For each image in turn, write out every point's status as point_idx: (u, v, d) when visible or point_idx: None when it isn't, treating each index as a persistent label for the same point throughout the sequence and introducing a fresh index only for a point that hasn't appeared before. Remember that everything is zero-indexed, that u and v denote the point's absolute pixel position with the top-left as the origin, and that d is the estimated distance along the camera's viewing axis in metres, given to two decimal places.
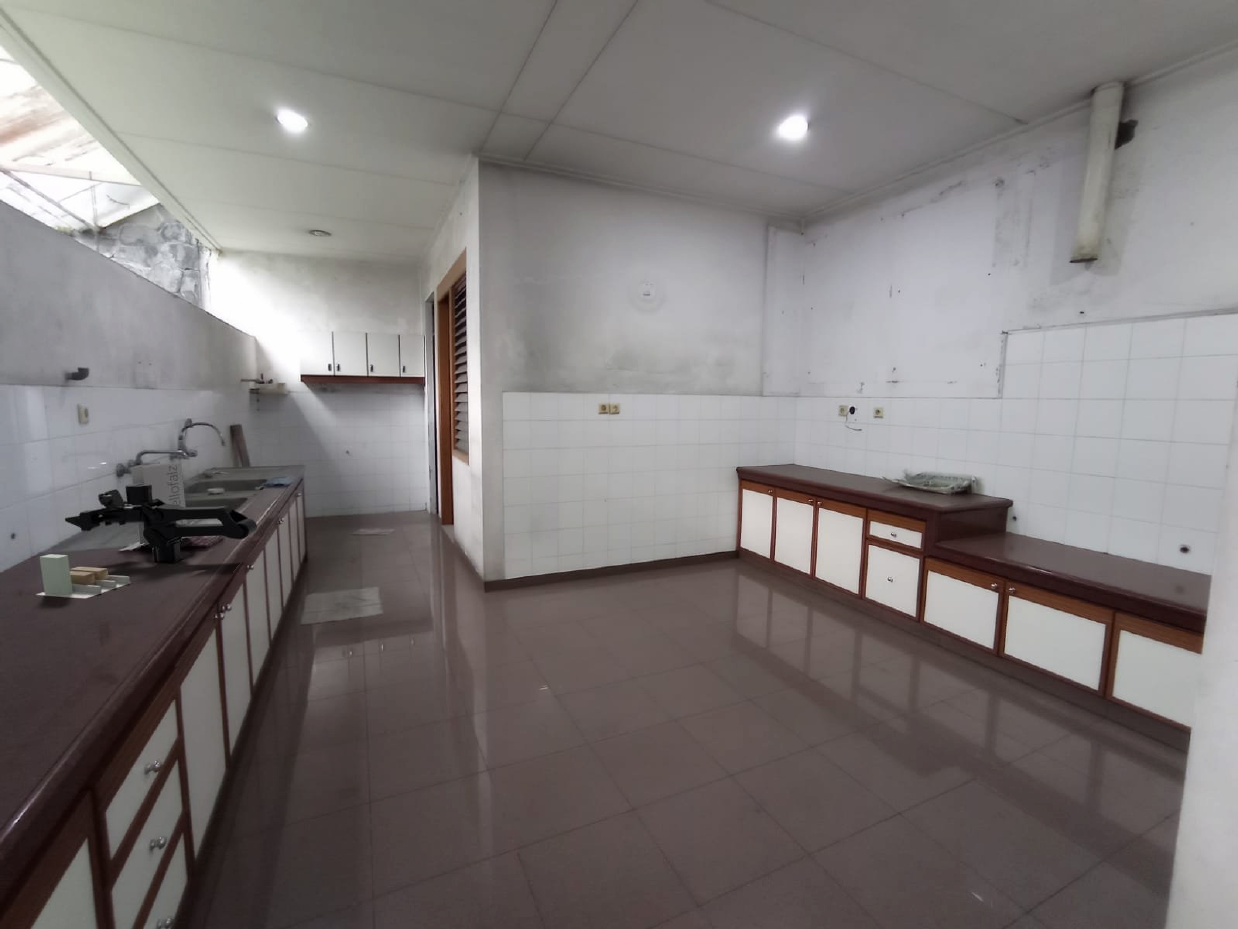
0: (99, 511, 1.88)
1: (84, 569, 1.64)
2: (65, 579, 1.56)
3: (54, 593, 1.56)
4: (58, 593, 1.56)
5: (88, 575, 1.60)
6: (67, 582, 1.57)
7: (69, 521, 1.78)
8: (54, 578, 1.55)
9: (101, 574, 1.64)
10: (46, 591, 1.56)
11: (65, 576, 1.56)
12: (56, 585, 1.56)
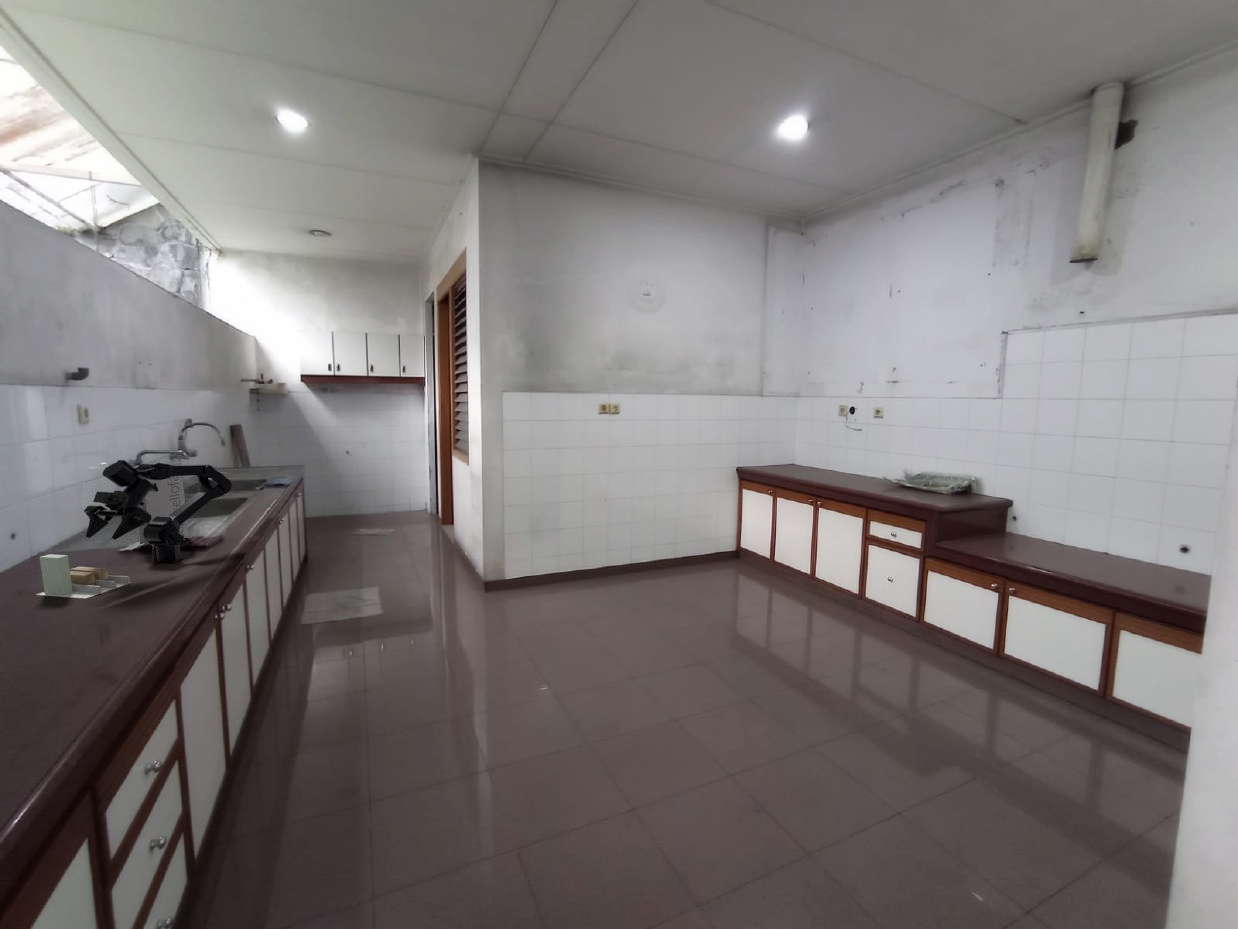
0: (93, 527, 1.71)
1: (84, 569, 1.64)
2: (65, 579, 1.56)
3: (54, 593, 1.56)
4: (58, 593, 1.56)
5: (88, 575, 1.60)
6: (67, 582, 1.57)
7: (120, 535, 1.69)
8: (54, 578, 1.55)
9: (101, 574, 1.64)
10: (46, 591, 1.56)
11: (65, 576, 1.56)
12: (56, 585, 1.56)
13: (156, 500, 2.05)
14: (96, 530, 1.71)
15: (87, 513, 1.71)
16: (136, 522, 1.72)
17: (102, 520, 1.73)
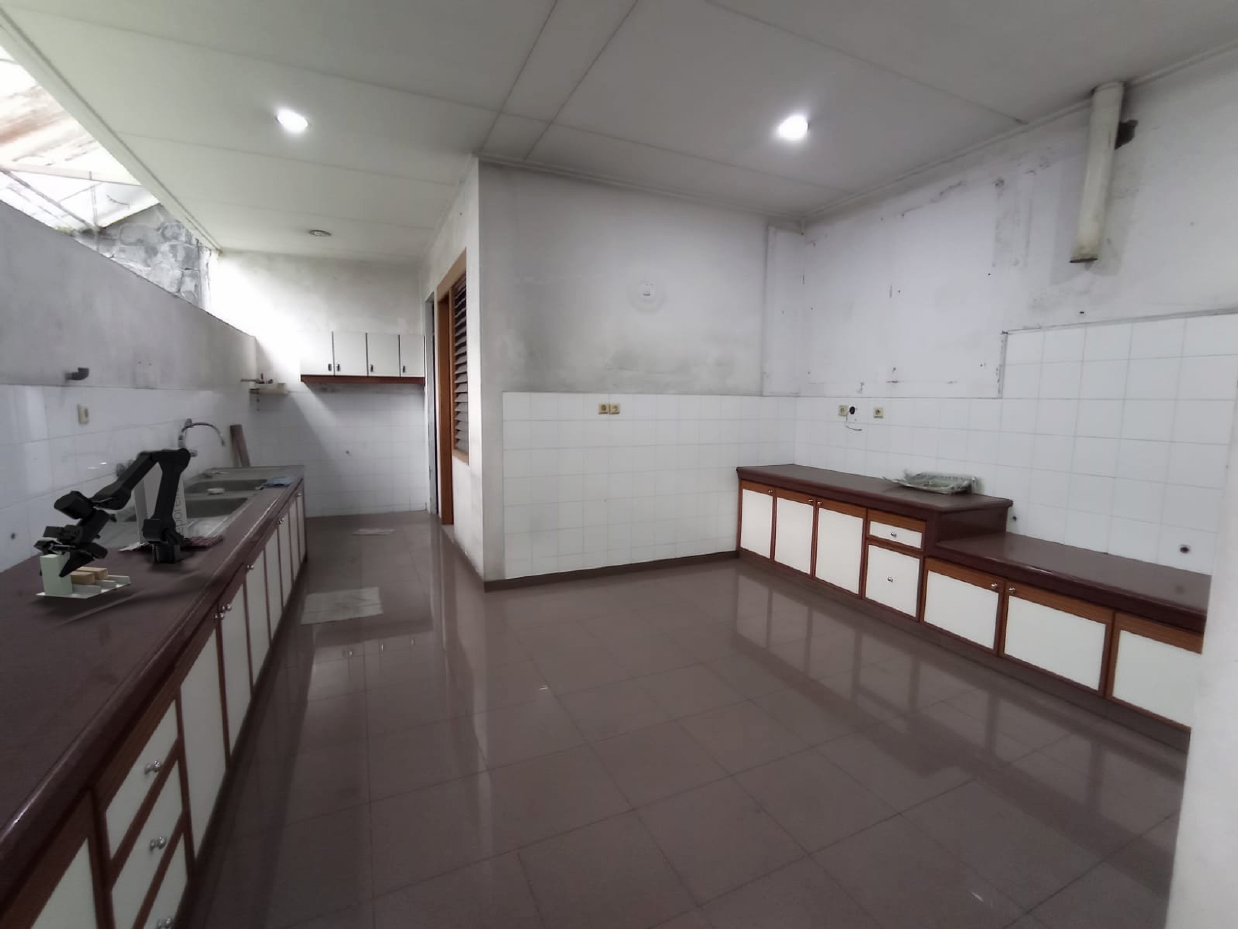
0: None
1: (84, 569, 1.64)
2: (65, 579, 1.56)
3: (54, 593, 1.56)
4: (58, 593, 1.56)
5: (88, 575, 1.60)
6: (67, 582, 1.57)
7: (68, 572, 1.56)
8: (54, 578, 1.55)
9: (101, 574, 1.64)
10: (46, 591, 1.56)
11: (65, 576, 1.56)
12: (56, 585, 1.56)
13: None
14: None
15: (41, 549, 1.58)
16: (86, 558, 1.59)
17: None
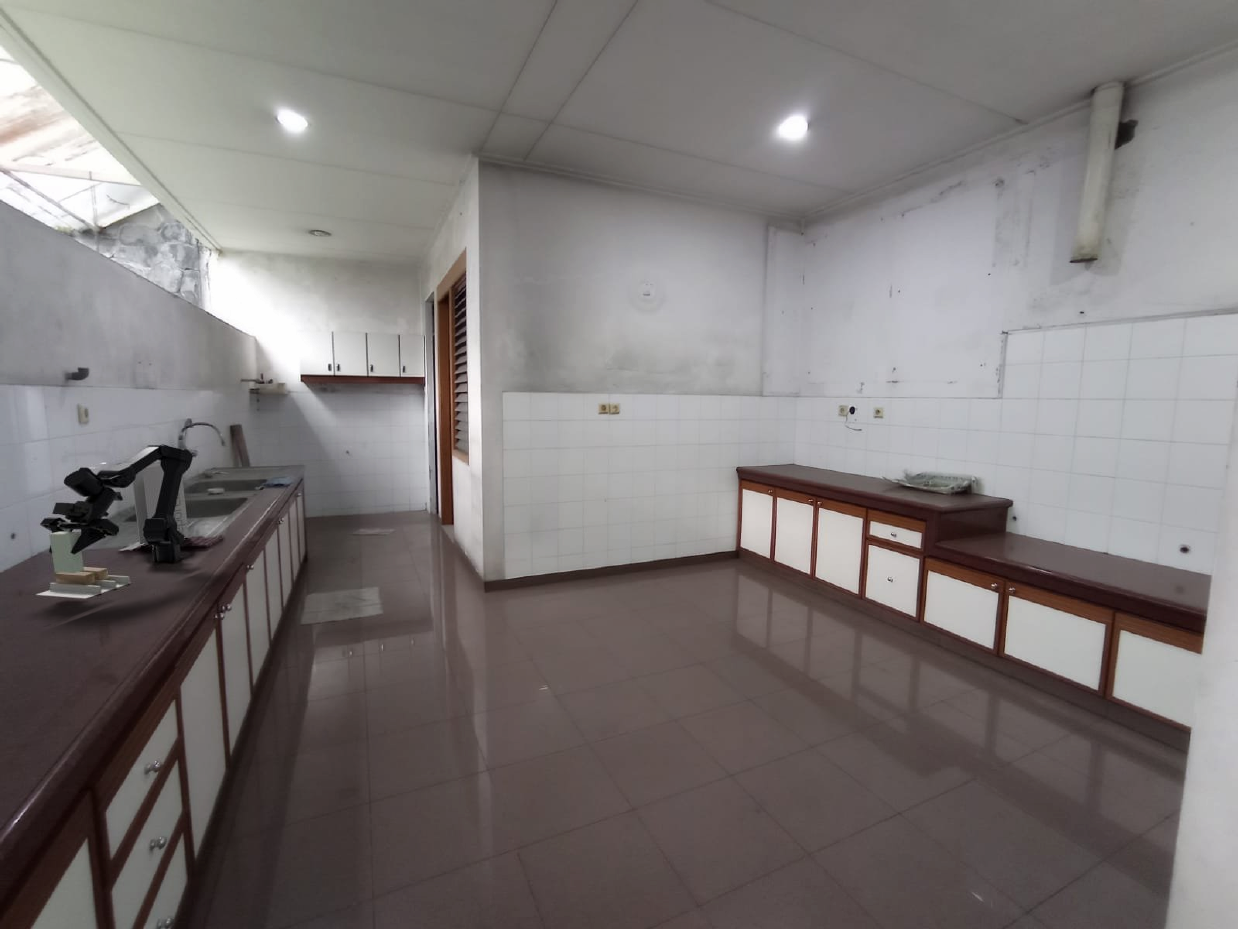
0: None
1: (84, 569, 1.64)
2: (77, 556, 1.55)
3: (65, 570, 1.55)
4: (69, 570, 1.54)
5: (88, 575, 1.60)
6: (78, 559, 1.55)
7: (79, 549, 1.55)
8: (65, 554, 1.54)
9: (101, 574, 1.64)
10: (56, 568, 1.55)
11: (76, 553, 1.55)
12: (67, 562, 1.54)
13: (156, 500, 2.05)
14: None
15: (49, 526, 1.56)
16: (97, 535, 1.58)
17: None
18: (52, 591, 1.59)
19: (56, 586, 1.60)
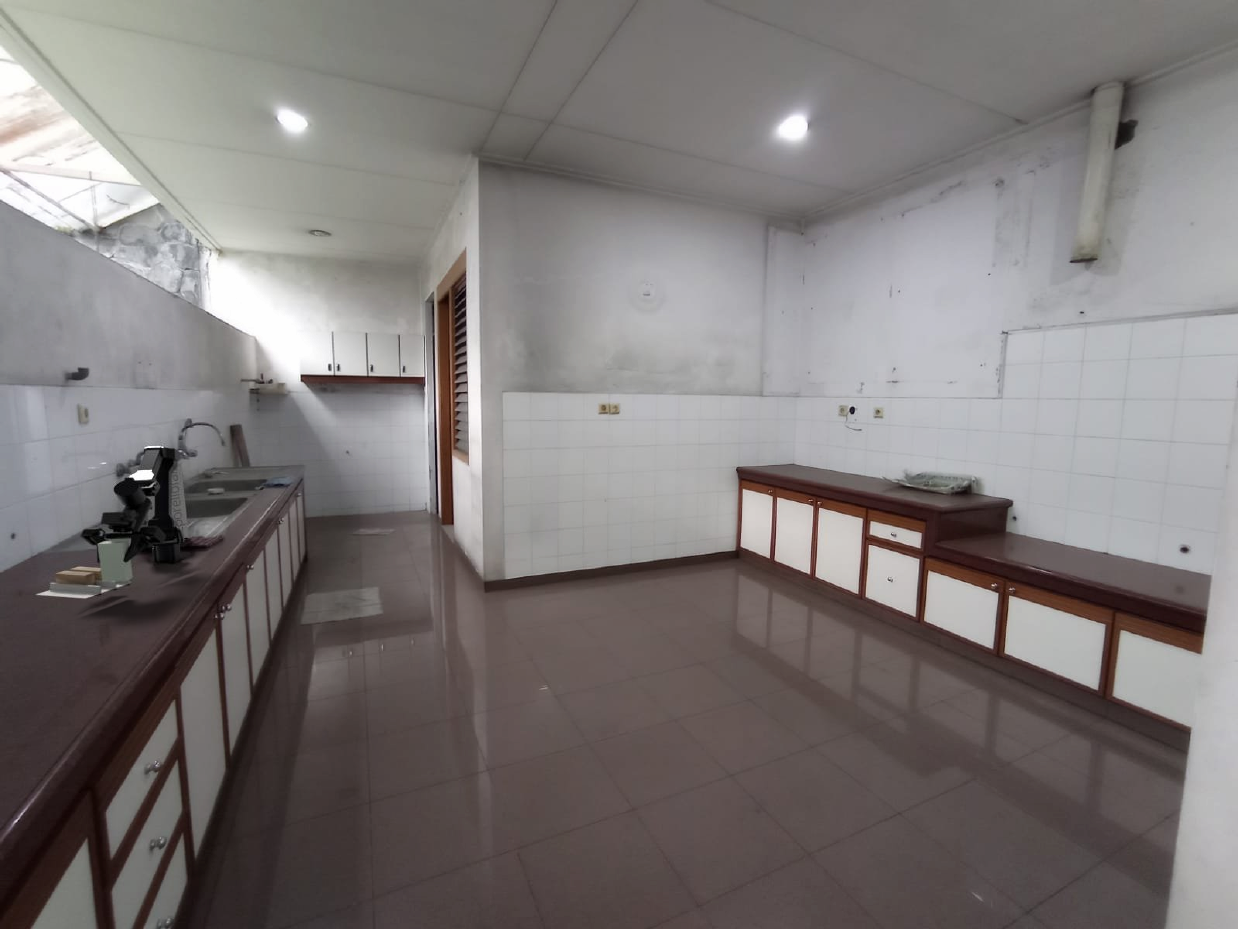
0: None
1: (84, 569, 1.64)
2: (127, 564, 1.58)
3: (115, 579, 1.57)
4: (120, 578, 1.57)
5: (88, 575, 1.60)
6: (129, 567, 1.58)
7: (130, 557, 1.58)
8: (116, 563, 1.56)
9: (101, 574, 1.64)
10: (104, 578, 1.56)
11: None
12: (118, 571, 1.56)
13: None
14: None
15: (93, 537, 1.56)
16: (145, 543, 1.61)
17: None
18: (52, 591, 1.59)
19: (56, 586, 1.60)
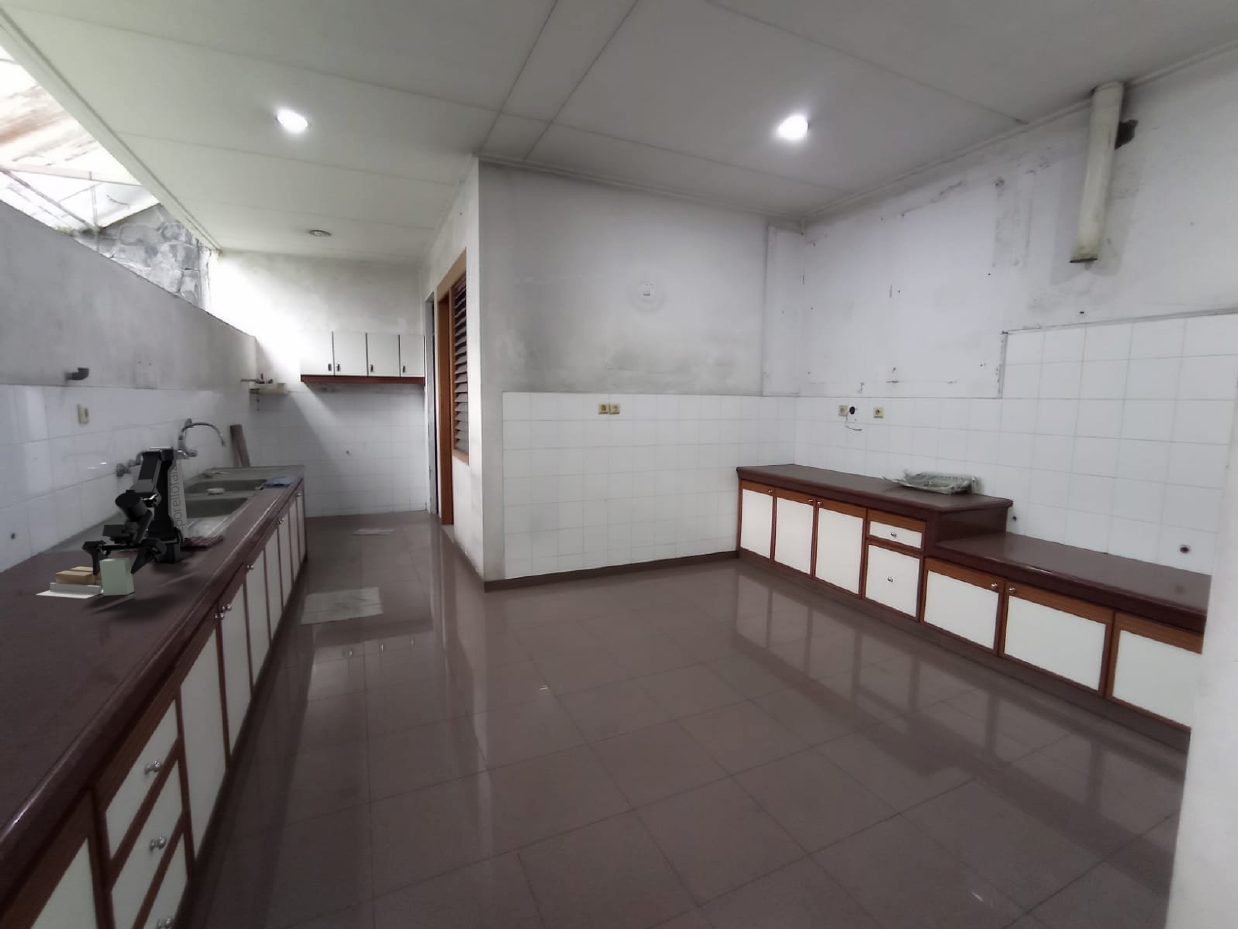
0: (98, 563, 1.57)
1: (84, 569, 1.64)
2: (129, 581, 1.58)
3: None
4: None
5: (88, 575, 1.60)
6: (130, 584, 1.59)
7: (137, 568, 1.58)
8: (118, 580, 1.57)
9: None
10: None
11: (129, 578, 1.58)
12: (120, 588, 1.57)
13: None
14: None
15: (88, 549, 1.57)
16: (151, 554, 1.62)
17: (104, 555, 1.60)
18: (52, 591, 1.59)
19: (56, 586, 1.60)
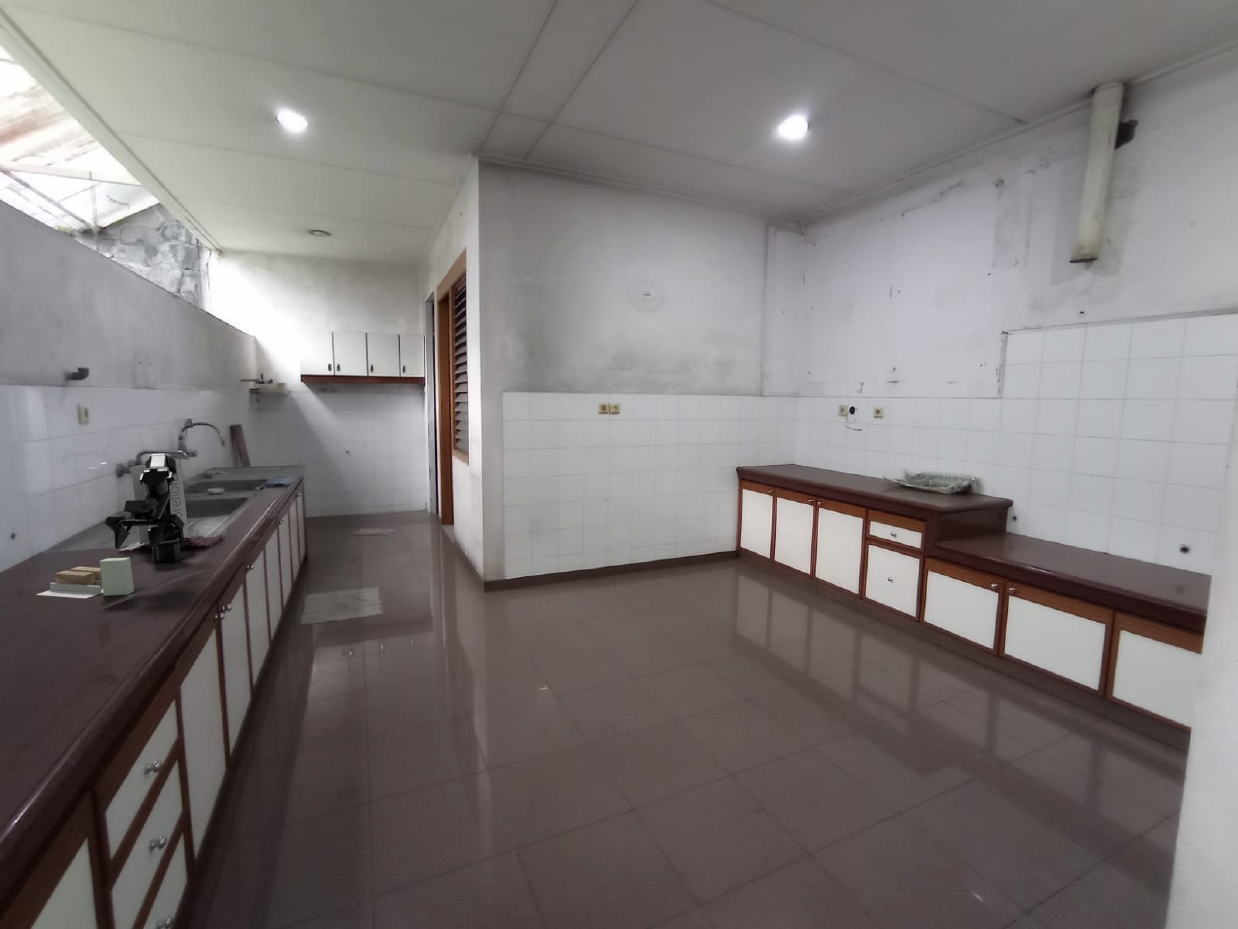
0: (119, 538, 1.65)
1: (84, 569, 1.64)
2: (129, 581, 1.58)
3: None
4: None
5: (88, 575, 1.60)
6: (130, 584, 1.59)
7: (157, 542, 1.67)
8: (118, 580, 1.57)
9: None
10: None
11: (129, 578, 1.58)
12: (120, 588, 1.57)
13: None
14: (122, 541, 1.66)
15: (110, 524, 1.65)
16: (170, 529, 1.70)
17: (125, 530, 1.68)
18: (52, 591, 1.59)
19: (56, 586, 1.60)
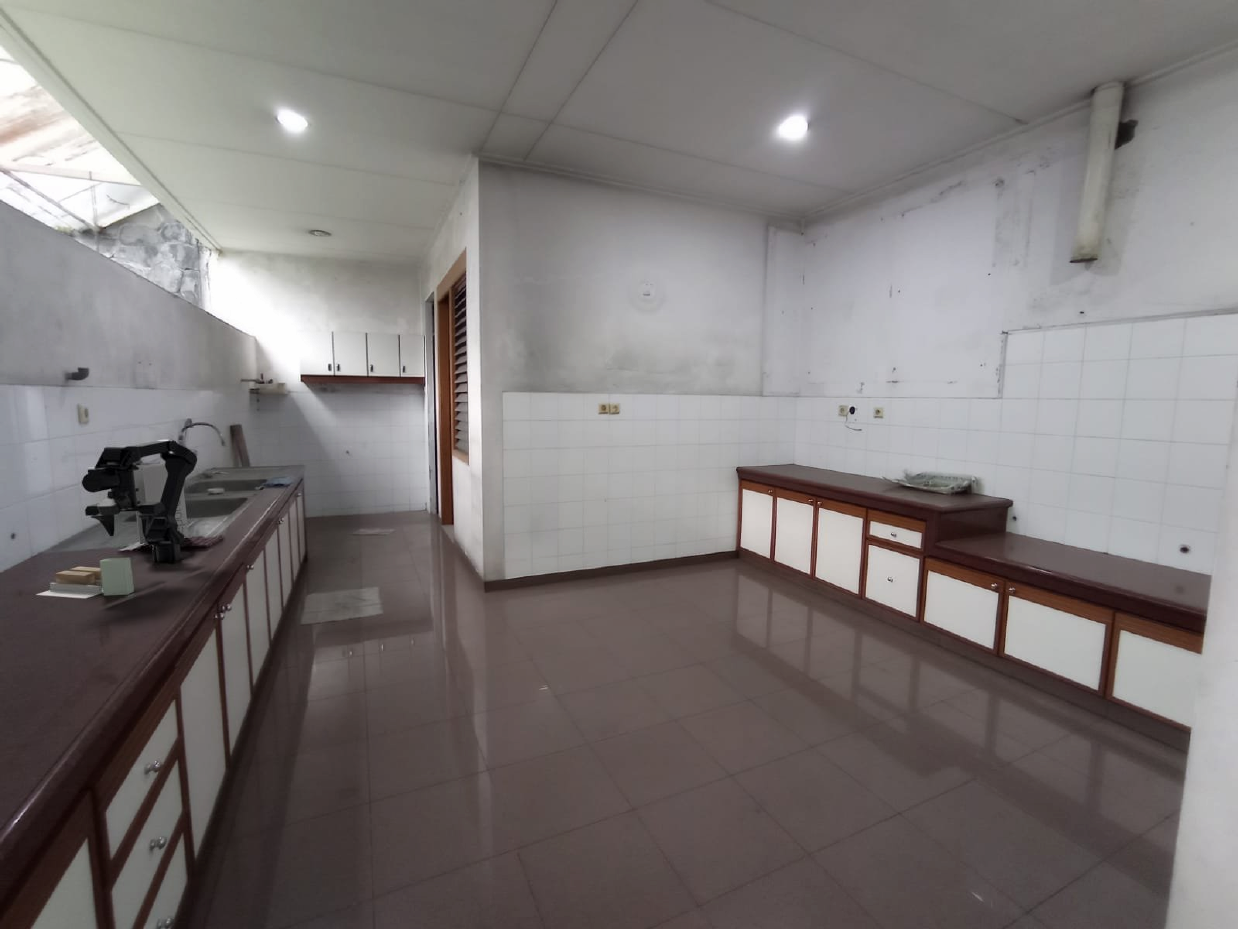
0: (109, 525, 1.72)
1: (84, 569, 1.64)
2: (129, 581, 1.58)
3: None
4: None
5: (88, 575, 1.60)
6: (130, 584, 1.59)
7: (148, 529, 1.75)
8: (118, 580, 1.57)
9: None
10: None
11: (129, 578, 1.58)
12: (120, 588, 1.57)
13: (156, 500, 2.05)
14: (112, 526, 1.73)
15: (93, 517, 1.69)
16: None
17: (109, 515, 1.73)
18: (52, 591, 1.59)
19: (56, 586, 1.60)
